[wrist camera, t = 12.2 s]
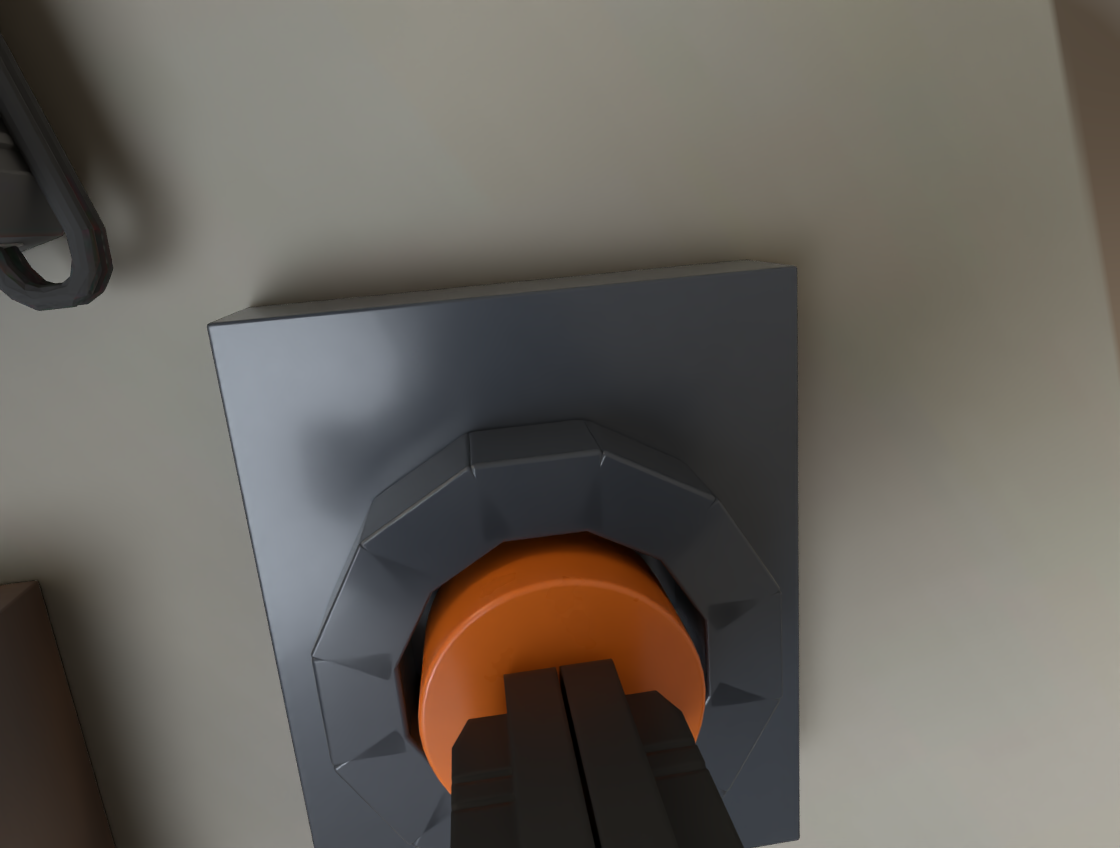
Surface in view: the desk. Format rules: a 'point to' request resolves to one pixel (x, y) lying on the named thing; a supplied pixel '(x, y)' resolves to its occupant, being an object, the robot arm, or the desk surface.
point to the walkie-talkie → (42, 203)
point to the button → (549, 632)
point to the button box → (519, 503)
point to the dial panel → (41, 737)
